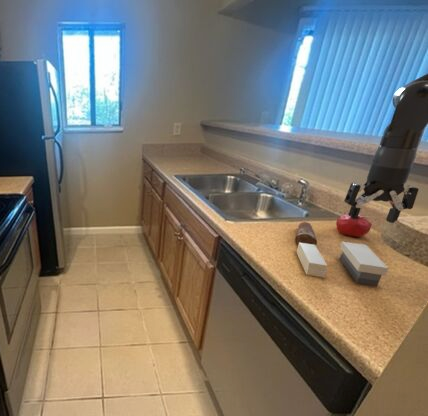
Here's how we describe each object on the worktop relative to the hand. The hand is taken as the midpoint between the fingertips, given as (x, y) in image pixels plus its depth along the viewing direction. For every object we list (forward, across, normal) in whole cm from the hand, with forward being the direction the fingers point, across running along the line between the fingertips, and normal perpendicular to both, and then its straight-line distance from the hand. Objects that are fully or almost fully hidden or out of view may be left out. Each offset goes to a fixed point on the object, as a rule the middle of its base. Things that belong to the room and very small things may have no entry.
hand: (371, 220), depth 78 cm
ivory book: (+13, +1, -1) cm, 13 cm away
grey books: (+17, +1, -1) cm, 17 cm away
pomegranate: (+17, +12, +29) cm, 36 cm away
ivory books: (+17, -11, +1) cm, 20 cm away
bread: (+17, -7, +20) cm, 27 cm away
